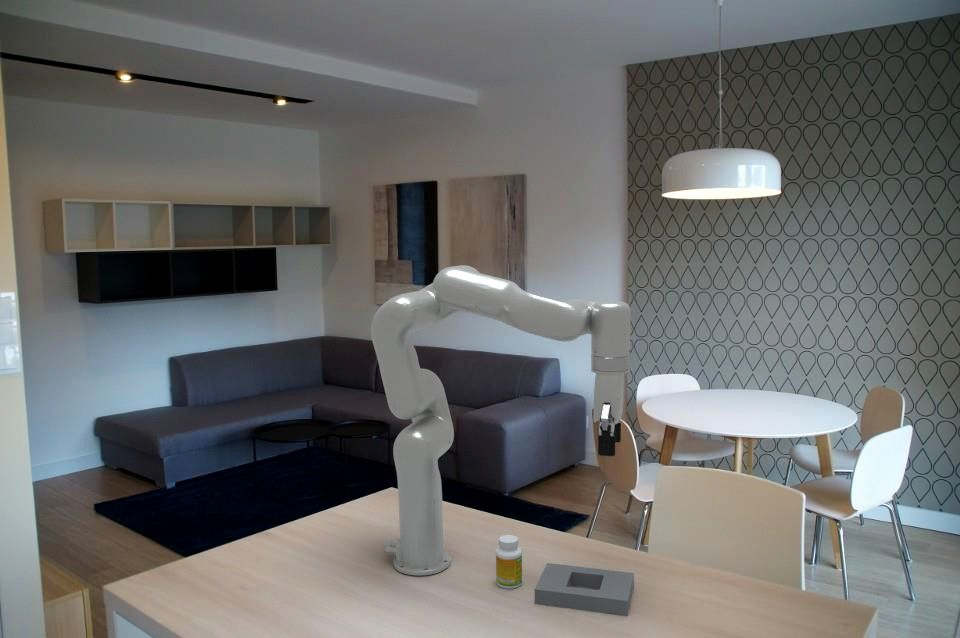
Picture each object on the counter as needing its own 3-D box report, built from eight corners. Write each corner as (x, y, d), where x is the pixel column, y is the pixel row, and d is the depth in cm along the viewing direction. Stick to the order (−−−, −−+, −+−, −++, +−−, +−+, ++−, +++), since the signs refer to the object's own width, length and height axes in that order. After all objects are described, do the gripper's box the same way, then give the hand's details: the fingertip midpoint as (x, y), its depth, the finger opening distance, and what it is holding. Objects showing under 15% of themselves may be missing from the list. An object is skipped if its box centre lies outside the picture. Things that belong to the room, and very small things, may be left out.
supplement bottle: (520, 590, 152) (519, 544, 150) (494, 588, 153) (493, 543, 152) (524, 578, 157) (523, 534, 156) (498, 576, 158) (498, 532, 157)
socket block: (534, 603, 146) (534, 589, 146) (547, 576, 157) (547, 562, 157) (627, 615, 141) (627, 600, 140) (633, 586, 152) (633, 572, 152)
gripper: (597, 356, 156) (597, 435, 158) (584, 371, 139) (584, 459, 141) (633, 357, 154) (632, 438, 156) (625, 372, 137) (624, 462, 139)
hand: (609, 448), depth 149 cm, fingers open, 9 cm apart
